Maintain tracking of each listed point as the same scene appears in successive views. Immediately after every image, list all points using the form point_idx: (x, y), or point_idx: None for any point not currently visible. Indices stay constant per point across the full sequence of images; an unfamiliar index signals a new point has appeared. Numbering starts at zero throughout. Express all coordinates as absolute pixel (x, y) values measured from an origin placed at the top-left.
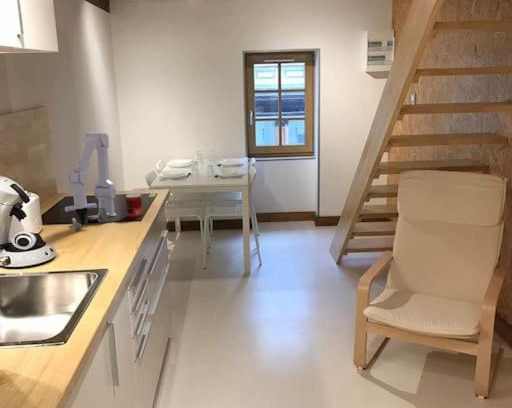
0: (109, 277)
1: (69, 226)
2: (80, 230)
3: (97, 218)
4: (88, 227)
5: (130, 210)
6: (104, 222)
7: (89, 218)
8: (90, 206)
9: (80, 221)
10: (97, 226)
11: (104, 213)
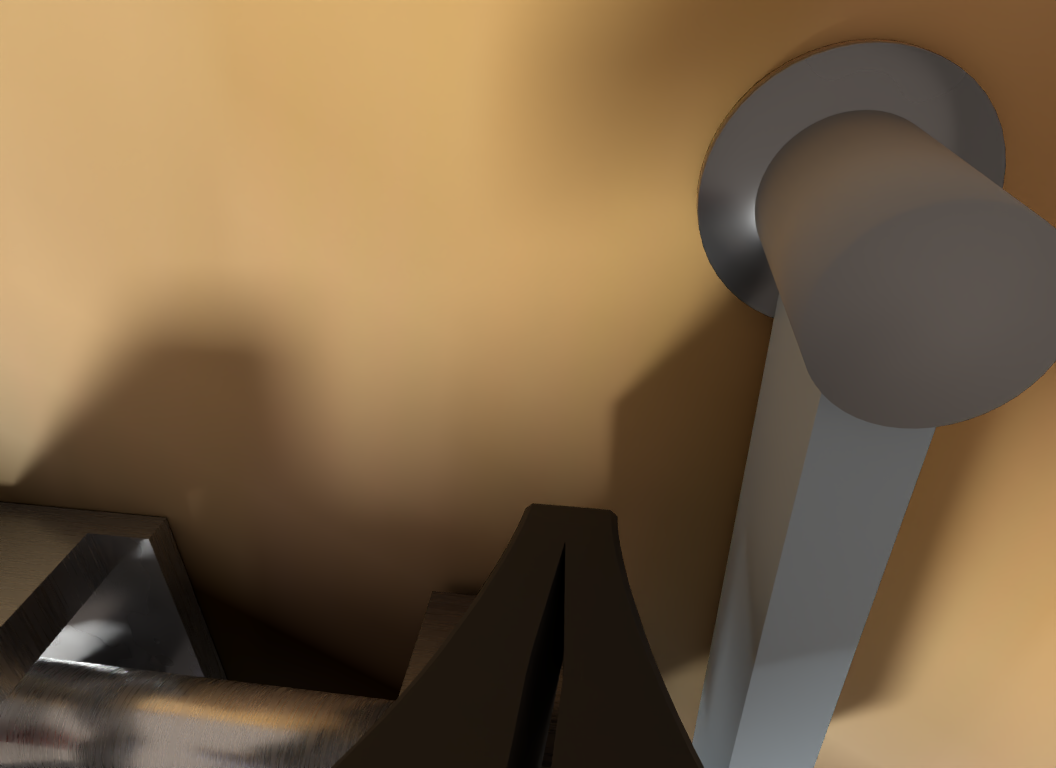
0: None
1: (868, 679)
2: (789, 64)
3: (164, 679)
4: (456, 335)
5: None
6: (62, 511)
7: (343, 727)
8: None
9: None
10: (199, 285)
11: None
